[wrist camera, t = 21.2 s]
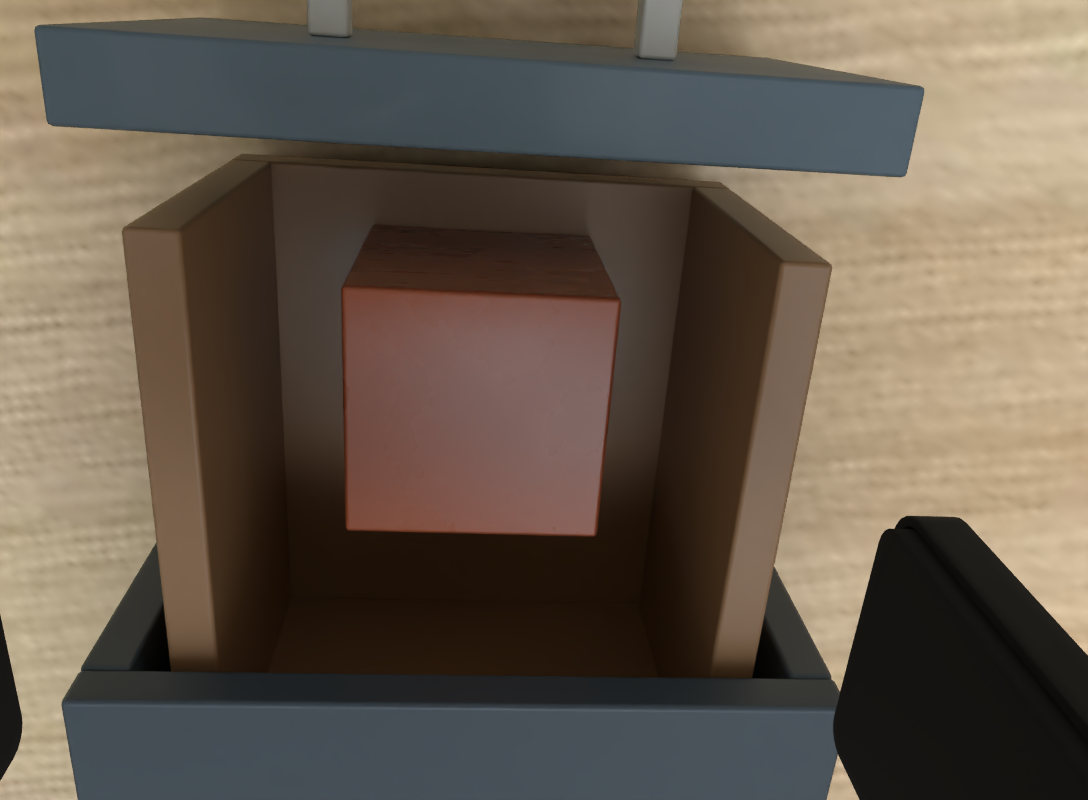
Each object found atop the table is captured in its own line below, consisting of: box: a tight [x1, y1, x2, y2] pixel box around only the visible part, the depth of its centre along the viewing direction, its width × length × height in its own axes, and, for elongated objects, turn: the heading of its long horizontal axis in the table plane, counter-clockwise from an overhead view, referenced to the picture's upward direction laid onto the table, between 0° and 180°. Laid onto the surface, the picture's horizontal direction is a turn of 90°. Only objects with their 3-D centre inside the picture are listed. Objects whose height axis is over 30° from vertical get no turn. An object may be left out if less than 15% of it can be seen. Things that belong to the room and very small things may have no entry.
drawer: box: [34, 0, 924, 678], centre depth 17 cm, size 19×11×7 cm, turn 176°
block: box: [341, 225, 621, 537], centre depth 18 cm, size 4×4×4 cm
